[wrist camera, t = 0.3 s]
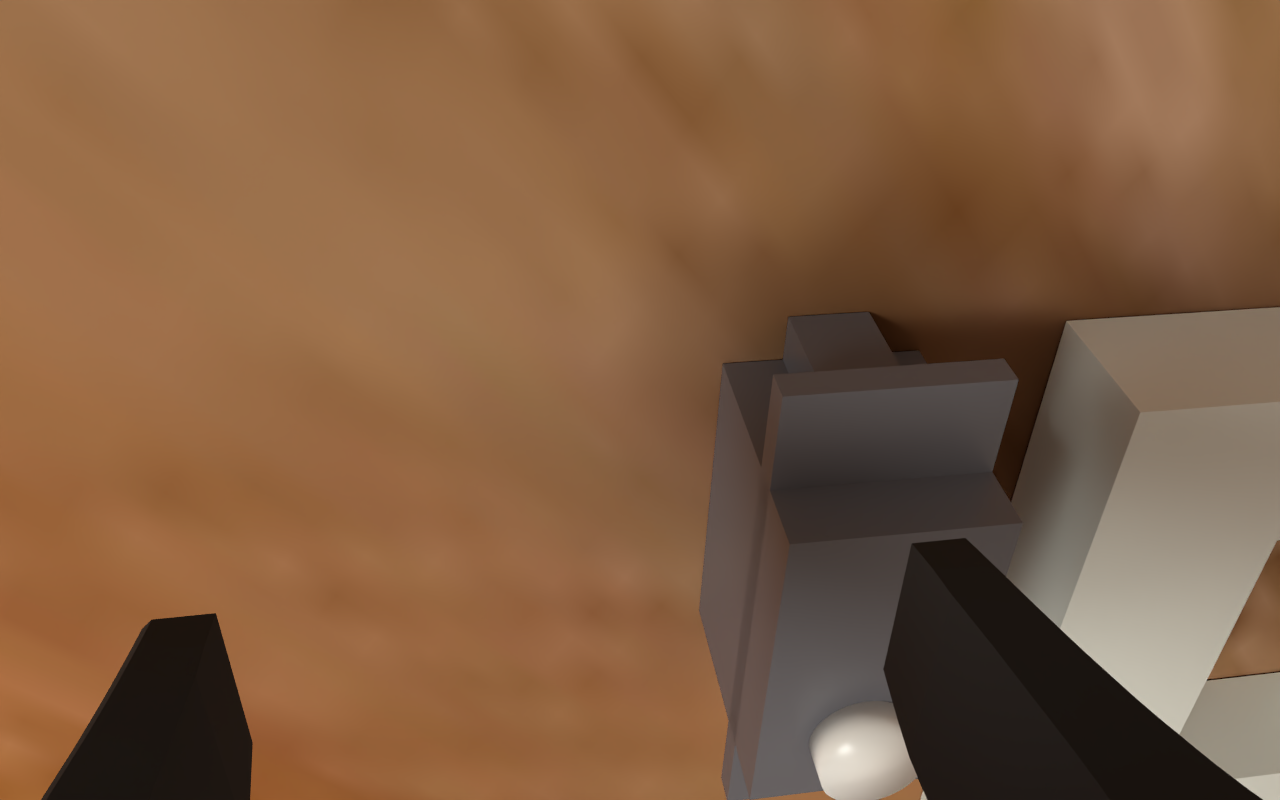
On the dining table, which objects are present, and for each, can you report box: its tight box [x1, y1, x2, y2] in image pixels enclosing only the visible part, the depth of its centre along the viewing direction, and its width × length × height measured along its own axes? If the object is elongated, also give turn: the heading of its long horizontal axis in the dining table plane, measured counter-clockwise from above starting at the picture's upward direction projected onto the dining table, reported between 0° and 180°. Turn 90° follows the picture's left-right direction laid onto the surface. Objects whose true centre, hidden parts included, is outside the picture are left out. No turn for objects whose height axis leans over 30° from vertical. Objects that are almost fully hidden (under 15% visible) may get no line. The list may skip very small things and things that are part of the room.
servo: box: [699, 312, 1023, 800], centre depth 23 cm, size 11×4×6 cm, turn 178°
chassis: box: [921, 307, 1280, 800], centre depth 29 cm, size 20×14×3 cm
